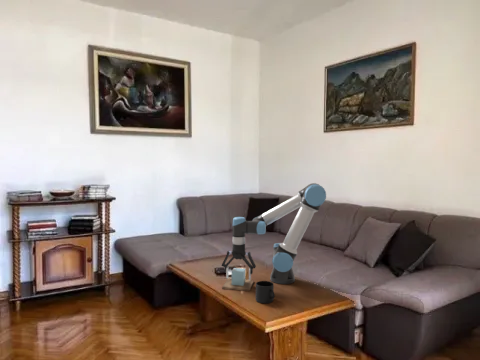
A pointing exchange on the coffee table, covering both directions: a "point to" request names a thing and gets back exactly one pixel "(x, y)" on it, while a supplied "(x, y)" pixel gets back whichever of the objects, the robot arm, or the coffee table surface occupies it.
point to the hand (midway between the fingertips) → (238, 278)
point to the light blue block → (238, 276)
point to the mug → (264, 292)
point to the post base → (245, 287)
